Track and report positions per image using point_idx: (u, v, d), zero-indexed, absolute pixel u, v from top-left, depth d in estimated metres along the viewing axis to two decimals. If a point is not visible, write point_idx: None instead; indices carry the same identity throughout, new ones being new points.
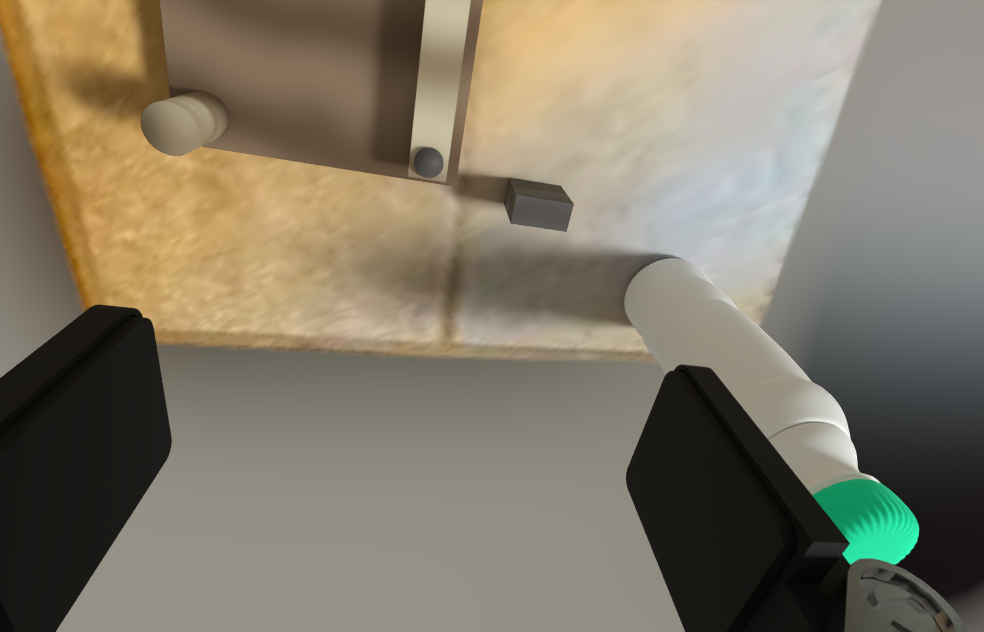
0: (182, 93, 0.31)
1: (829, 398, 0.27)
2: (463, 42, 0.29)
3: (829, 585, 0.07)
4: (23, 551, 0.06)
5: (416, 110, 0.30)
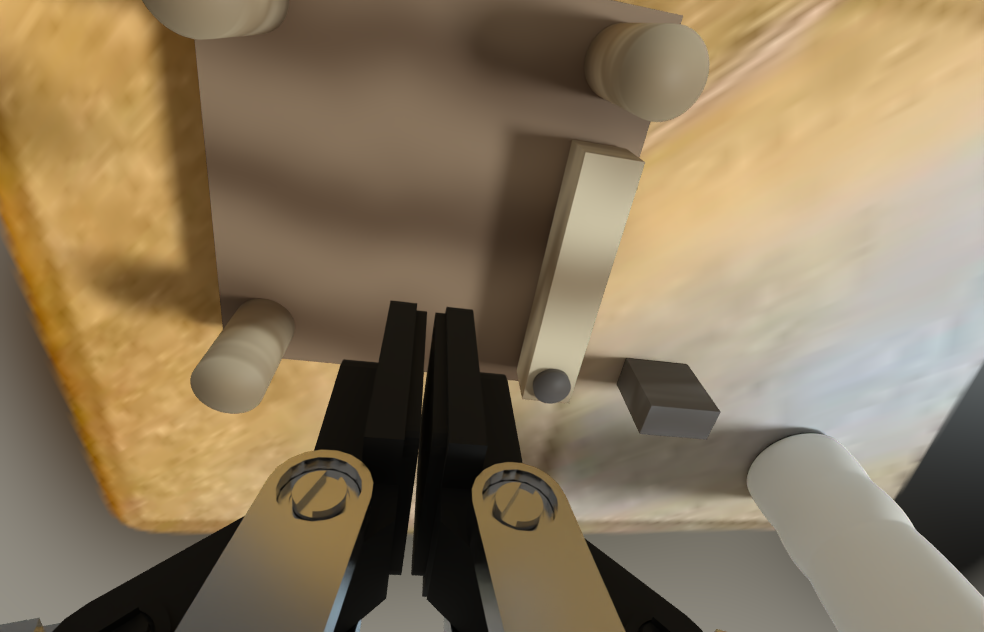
0: (236, 301, 0.24)
1: None
2: (613, 257, 0.22)
3: None
4: None
5: (542, 331, 0.23)
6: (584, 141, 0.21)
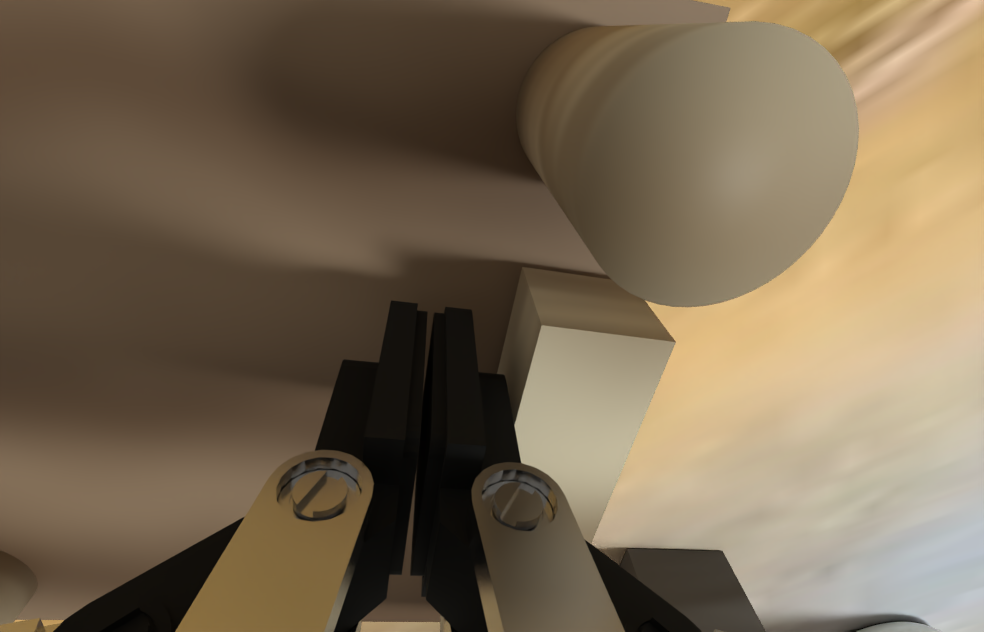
0: None
1: None
2: (603, 503, 0.11)
3: None
4: None
5: None
6: (546, 270, 0.11)
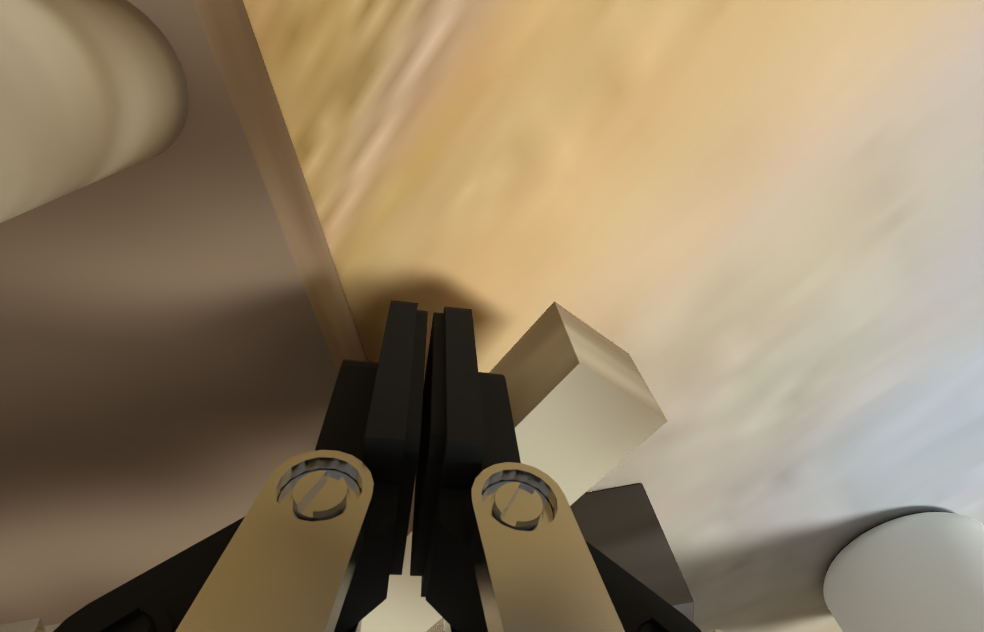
0: None
1: None
2: None
3: None
4: None
5: None
6: (571, 314, 0.11)
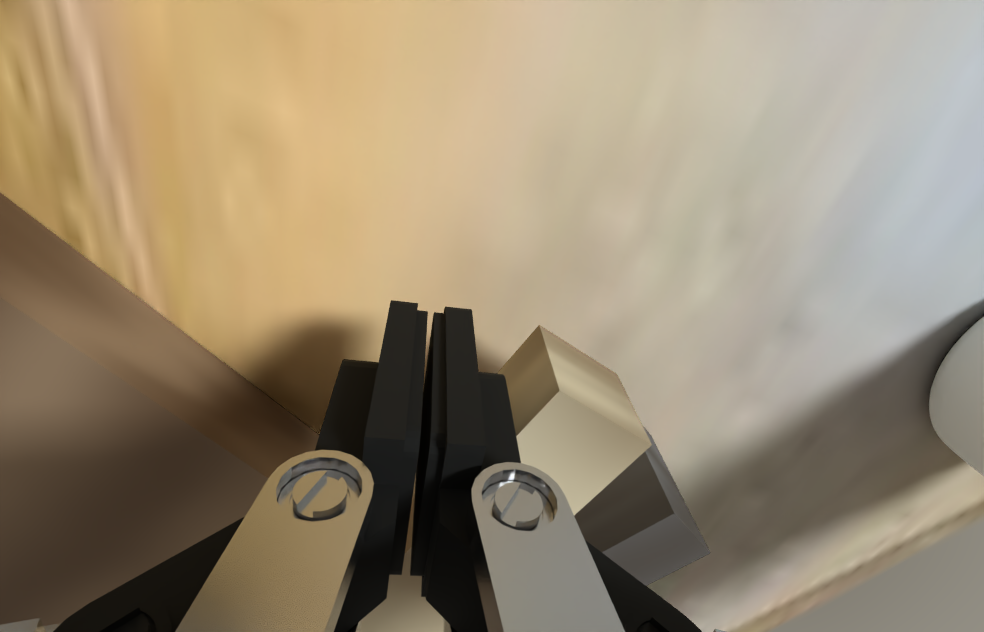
0: None
1: None
2: None
3: None
4: None
5: None
6: (557, 336, 0.12)
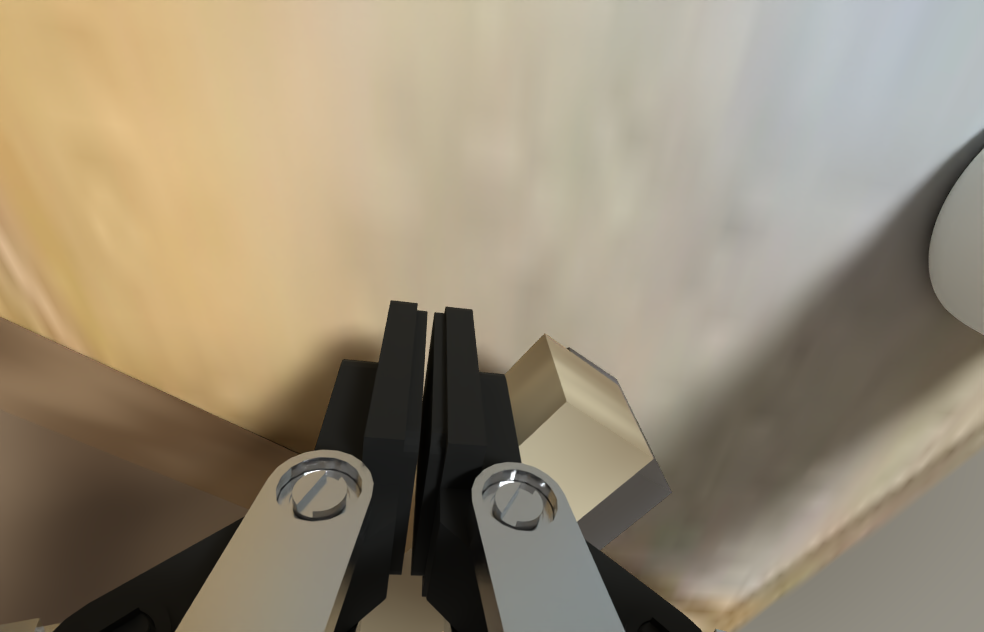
0: None
1: None
2: None
3: None
4: None
5: None
6: None
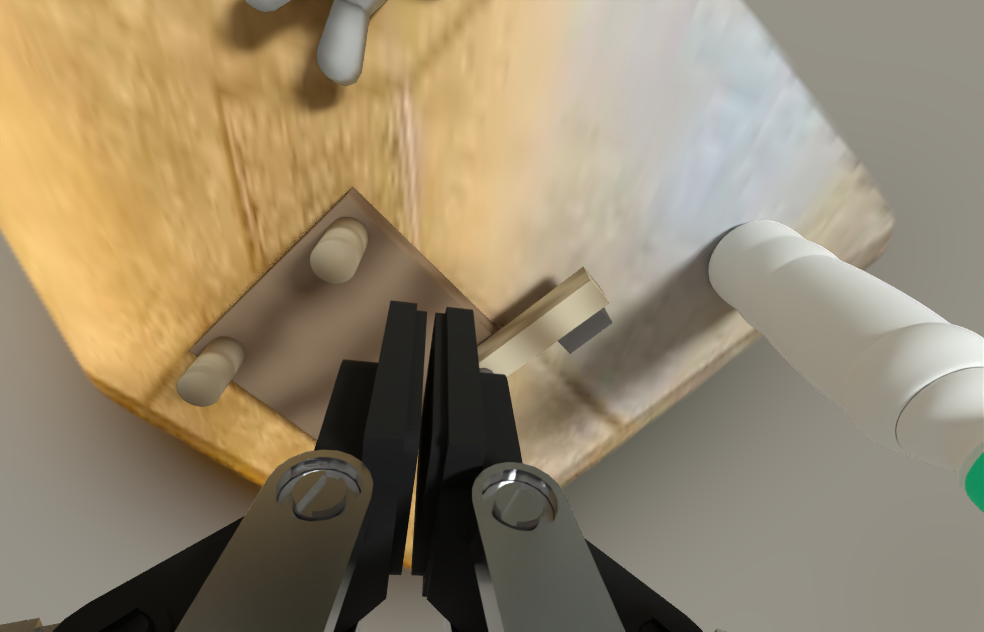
0: None
1: (931, 342, 0.24)
2: (563, 334, 0.38)
3: None
4: None
5: (502, 347, 0.38)
6: None
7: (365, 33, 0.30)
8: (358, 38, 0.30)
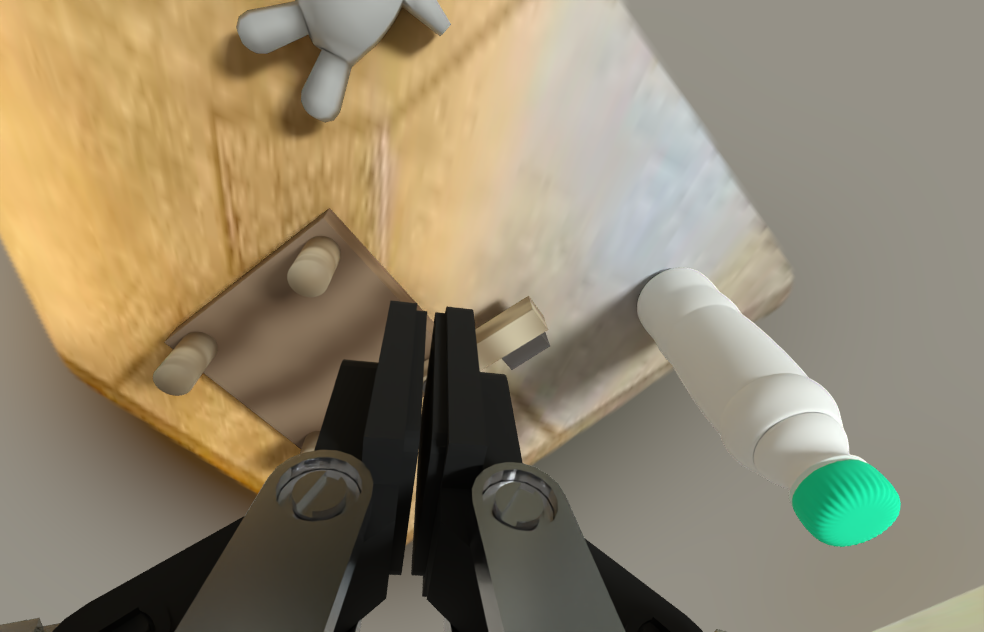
0: (301, 441, 0.49)
1: (784, 390, 0.30)
2: (506, 353, 0.43)
3: None
4: None
5: None
6: (531, 300, 0.43)
7: (346, 80, 0.35)
8: (339, 85, 0.34)
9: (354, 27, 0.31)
